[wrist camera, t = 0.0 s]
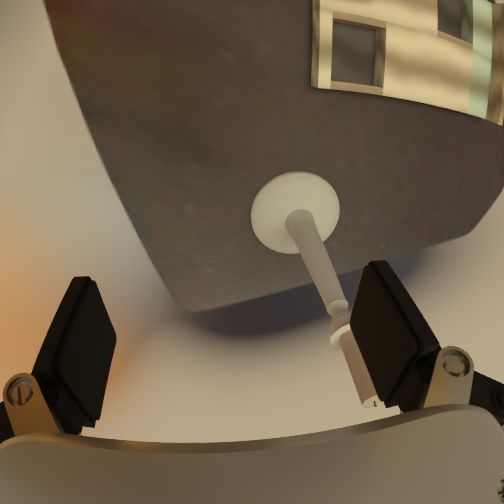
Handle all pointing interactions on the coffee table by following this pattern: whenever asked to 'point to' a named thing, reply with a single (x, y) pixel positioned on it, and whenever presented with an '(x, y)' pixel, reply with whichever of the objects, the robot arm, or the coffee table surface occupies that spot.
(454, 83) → the board
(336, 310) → the candlestick
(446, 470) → the robot arm
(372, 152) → the coffee table surface
